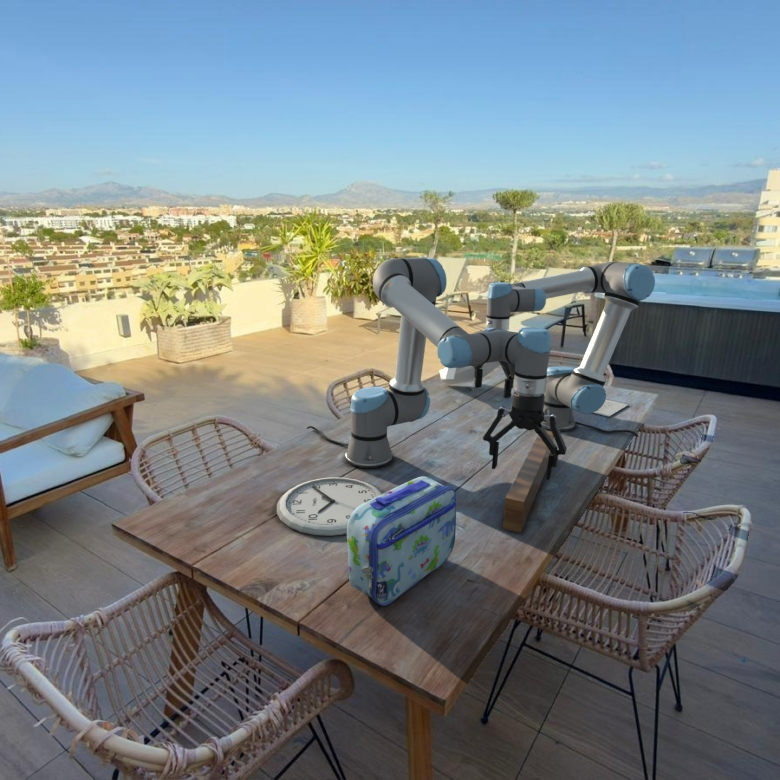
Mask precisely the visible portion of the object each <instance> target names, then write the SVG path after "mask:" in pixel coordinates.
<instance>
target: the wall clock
mask: <svg viewBox="0 0 780 780" xmlns="http://www.w3.org/2000/svg"><path fill="white" fill-rule="evenodd" d="M381 494H384V492H382V491H381V490H380V489H379V488H377V487H376V486H374V485H372V484H371V483H369V482H365V481H362V480H359V479H355V478H349V477H338V476H337V477H335V476H333V477H332V476H331V477H322V478H317V479H312V480H307V481H305V482H302V483H299V484H297V485H295V486H293V487H292V488H290V489H288V490H287V491H286V492H285V493H284V494H283V495H281V496H280V498H279V499H278V502H277V503H276V515H277V517H278V518H279V520H280V521H281V522H282V523H283V524H285V525H286V526H287V527H288V528H290V529H293V530H295V531H297V532H299V533H303V534H308V535H312V536H327V537H328V536H329V537H331V536H332V537H333V536H342V535H347V525H348V521H349V518H350V516H351V514H352V513H353V511H354V510H355V509H356V508H357V507H358V506H360V505H362V504H363V503H365V502H368V501H370V500H372V499H374V498H376V497H378V496H380V495H381Z"/></svg>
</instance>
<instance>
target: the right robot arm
mask: <svg viewBox="0 0 780 780" xmlns="http://www.w3.org/2000/svg"><path fill="white" fill-rule="evenodd" d="M655 285H656V278H655V275H654V272H653V270H652V268H650V267H649V266H648V265H646V264H642V263H638V262H624V261H623V262H622V261H616V260H615V261H614V260H613V261H606V262H602V263H598V264H597V263H596V264H594V265H593V264H592V265H589V266H584V267H581V269H580V270H578V271H573V272H567V273H562V274H556V275H550V276H545V277H539V278H534V279H530V280H524V281H519V282H513V283H511V282H502V281H498V282H497V281H495V282H491V283H489V285H488V288H487V295H486V298H487V299H486V316H485V330H486V329H487V328H496V329H497V328H500V329H502V330H506V331H510V317H511V316H510V315H511V313H534V312H541V311H543V309H544V308H545V306H546V303H547V299H552V298H558V297H562V296H568V295H573V294H579V293H583V294H586V295H588V294H593V293H594V294H604V295H603V298H604V301H605V304H604V307H603V309H602V312H601V313H600V317H599V319H598V321H597V324H596V326H595V329H594V331H593V333H592V336H591V338H590V341H589V343H588V345H587V347H586V350H585V353H584V355H583V357H582V359H581V361H580V364H579V365H578V367H573V366H558V365H557V366H548V369H547V382H546V390H545V393H544V395H545V400H544V409H543V412H544V415H552V414H556V423H557V425H558V428H559V430H560V432H567V431H572V430H574V429H575V428H576V425H577V426H578V425H579V426H581V427H585V428H588V429H592V430H595V431H597V432H601V433H604V434H614V433H629V434H632V435H633V436H634V437H636V438H639V437H640V436H639V435H638V434H637V432H635V431H634V430H629V429H611V430H606V429H601V428H599V427H596V426H593V425H589V424H586V423H582V422H579V421H576V418H575V417H576V416H575V413H574V412H577V413H579V414H583V415H590V414H594V413H593V412H595V411H597V410H599V409H600V408H601V407H602V405H603V404H604V402H605V400H607V393H606V392H607V391H606V390H605V388H604V387H605V384H606V382H607V381H606V379H605V376H604V375H605V372H606V370H607V368H608V366H609V363H610V361H611V358H612V356H613V354H614V352H615V350H616V347H617V345H618V343H619V340H620V338H621V335H622V333H623V330H624V328H625V326H626V323H627V321H628V319H629V317H630V314H631V312H632V311H633V310H635V309H637V308H639V305H640V303H641V301H643V300H646V299H647V298H649V297H650V296H651V295H652V293H653V292H654V289H655ZM498 362H500V364H501V365H500V366H501V369H502V372H503V373H504V376H505V375H506V377H507V379H506V377H505V378H504V384H503V385H504V387H503V399H510V398H511V397H512V394H511V389H513V385H514V376H515V364H511V363H508V362H504V361H498ZM484 364H485V363H483V364H477V365H472V366H473V367H474V369H475V372H474V377H475V383H474V389H480V388H482V387H483V380H482V375H483V369H480V368H482V366H483V365H484ZM541 424H542V425H543V427H544V429H545V430H549V431H551V428H550V424H548V423H547V421H546V420H543V421H542V422H541Z"/></svg>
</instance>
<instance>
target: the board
mask: <svg viewBox="0 0 780 780" xmlns="http://www.w3.org/2000/svg"><path fill="white" fill-rule="evenodd" d="M545 431H546V432H547V434H548V435H549V436H550V438H551V439H552V441H553V442H554V441H555V438H554V436H553V433H552V431H547V430H545ZM549 454H550V450H549V449H548V447H547V446H546V445H545V443H544V442H543V440H542V439H541V438H540V436H539V435H538V434H537V435H536V438H535V440H534V441H533V443H532V445H531V447H530V449H529V451H528V453H527V455H526V457H525V458H524V461H523V462H522V464H521V466H520V469H519V471H518V472H517V475H516V476H515V478H514V480H513V481H512V484H511V485H510V488H509V490H508V492H507V494H506V496H505V500H504V511H503V520H502V530H503V529H504V530H507V531H511V532H515V533H520V534H522V531H523V529H524V527H525V523H526V521H527V519H528V516H529V514H530V512H531V509H532V506H533V504H534V501H535V499H536V496H537V494H538V492H539V489H540V486H541V484H542V481H543V479H544V477H545V475H546V473H547V468H548V459H549Z"/></svg>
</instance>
